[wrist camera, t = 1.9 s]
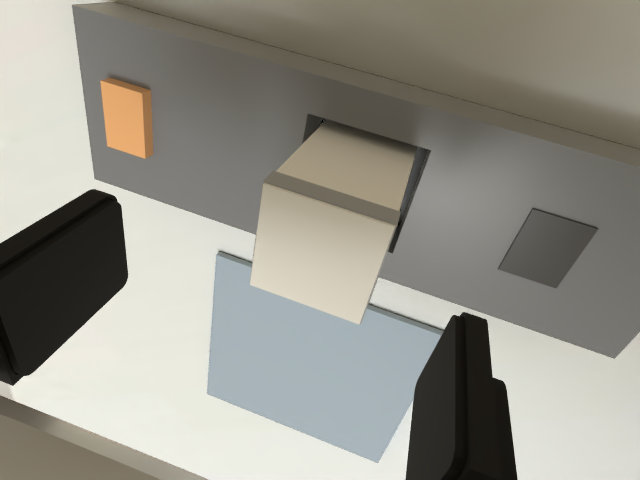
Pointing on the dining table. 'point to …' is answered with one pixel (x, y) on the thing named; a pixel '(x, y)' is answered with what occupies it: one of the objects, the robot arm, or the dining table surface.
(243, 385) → the slate mat
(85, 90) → the power strip
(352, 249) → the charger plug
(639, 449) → the dining table surface
